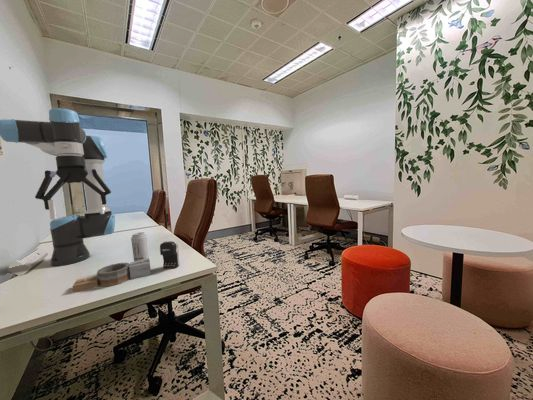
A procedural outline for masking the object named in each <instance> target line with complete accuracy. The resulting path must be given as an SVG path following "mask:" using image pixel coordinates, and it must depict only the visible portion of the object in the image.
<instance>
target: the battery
mask: <svg viewBox="0 0 533 400" xmlns="http://www.w3.org/2000/svg"><path fill="white" fill-rule="evenodd" d="M159 253H160V256H162V259H163V265H162V267H163V268H164V269H175V268H178V267H179V266H180V258H179V257H180V256H179V255H180V254H179V246H178V242H177V241H174V240H173V241H172V240H169V241H168V240H167V241H163V242H162V243H160V246H159Z"/></svg>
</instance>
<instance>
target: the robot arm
mask: <svg viewBox="0 0 533 400" xmlns="http://www.w3.org/2000/svg"><path fill="white" fill-rule="evenodd" d="M48 117H49V118H48V120H49V121H40V120H39V121H37V120H36V121H35V120H23V119H14V118H12V119H0V138H1V139H2V140H3V141H4V142H7V143H16V144H18V143H24V144H26V145H27V144H28V145H30V146H32V147H36V148H38V149H40V150H41V151H42V152H43V153H45V154H48V155H50V156H54V157H55V162H56V168H57V169H56V171H54V170H53V171H52V170H45V171H44V178H43V179H42V182H41V184H40V186H39V188H38V189H37V191H36V194H35V196H34V197H35V199H36V200H42V201H43V203H44V209H45V210H46V211H47V210H49V217H50V222H49V227H50V229H49V230H50V237H51V241H52V246H53V247H52V248H53V250H52V255H51V257H50V264H51V267H52V266H54V267H58V266H59V267H60V266H68V265H71V264H76V263H79V262H81V261H85V260H87V259H89V258H90V257H91V255H90V251H89V249H88V248H87V246H86V245H85V243H84V242H85V241H84V239H88V238H95V237H101V236H108V235H113V234H114V232H115V228H116V213H114V212H112V210H111V209H110V208H109V207H108V203H107V195H109V194H111V193H112V191H111V189H110V188H109V187H108V186H107V184H106V183H105V179H104V170H103V164H104V163H105V159H107V158H108V154H107V149H106V147H105V144H104V140H103V138H101V137H100V136H96V135H87V134H86V131H85V130H84V128H82V126H81V125H80V118H79V114H78V113H77V111H75V110H72V109H68V108H61V107H60V108H59V107H58V108H57V107H54V108H51V109H49V111H48ZM56 176H58V177H59V178H58V180H57V182H55V184H54V185H53V186H52V187H51V188H50V189H49V187H50V185H51V183H52V180H53V178H54V177H56ZM82 182H83V185H84V192H85V194H84V195H85V200H86V207H87V210H85V212H84V216H81V215H80V214H72V215H68V216H67V215H66V216H62V217H59V218H58V217H57V212H56V211H57V210H56V203H55V199H52V198H53V197H54V196H55V194H56V193H57V192H58V191H59V190H60V189H61V188H62V187H63V186H64V185H65V184H66V183H67V184H74V183H76V184H77V183H78V184H80V183H82ZM48 189H49V190H48ZM47 191H48V192H47Z"/></svg>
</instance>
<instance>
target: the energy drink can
mask: <svg viewBox="0 0 533 400" xmlns="http://www.w3.org/2000/svg"><path fill="white" fill-rule="evenodd" d="M130 239H131V248H132V254H133V255H132V256H133V257H132V258H133V262H135V261H139V260H144V259H149V260H150V254H149V253H150V252H149V245H148V238H147V234H145V232H136V233H132V235H131V238H130Z"/></svg>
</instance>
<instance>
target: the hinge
mask: <svg viewBox="0 0 533 400" xmlns="http://www.w3.org/2000/svg"><path fill="white" fill-rule="evenodd" d="M150 262H151V261H150V258H149V259H144V260H139V261H135V262H134V261H131V262H129V263H128V262H117V263H113V264H110V265H107V266H104V267H101V268H100V269H98V270H97V272H96V275H94V276H88V277H84V278H83V277H82V278H79V279H78V278H77V279H76V280H75V282H74V283H73V285H72V291H73V294H74V293H78V292H82V291H86V290H91V289H95V288H98V287H99V286H100V287H101V288H104V287H112V286H116V285H117V286H118V285H121V284H123V283H126V282H127V281H129V280H134V279H138V278H142V277H146V276H150V275H151V271H152V269H151V263H150Z"/></svg>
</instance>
